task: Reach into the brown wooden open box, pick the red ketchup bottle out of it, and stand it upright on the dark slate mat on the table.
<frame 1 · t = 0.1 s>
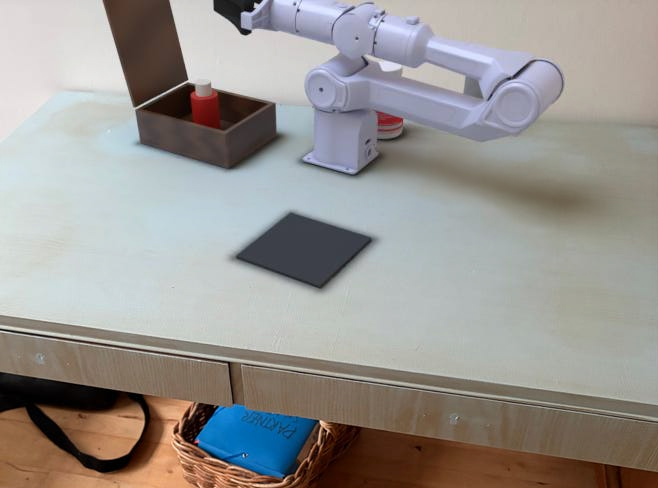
brown box lid: (138, 33, 121), point 15 cm above the table, hinge at 100.0°
ketchup: (208, 135, 125), point 1 cm above the table, touching brown wooden open box
pill bottle: (383, 133, 125), on the table
brown wooden open box: (208, 139, 126), on the table
grey tube: (472, 128, 125), on the table
mat: (304, 249, 99), on the table
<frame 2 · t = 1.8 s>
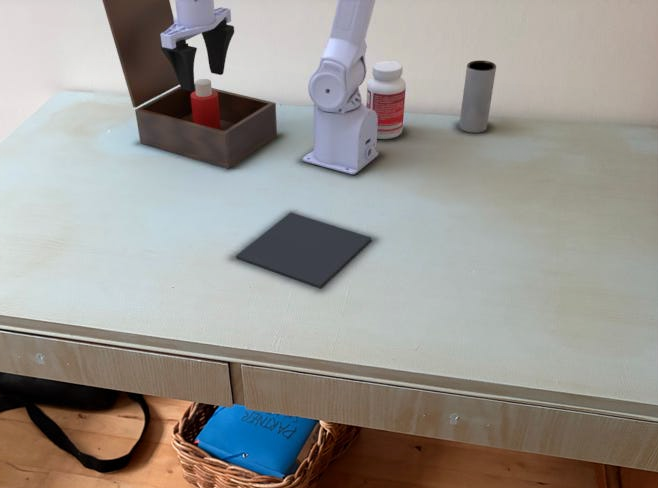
hand: (202, 81, 119), 10 cm above the table, tool pointing down, fingers open, 7 cm apart
nothing on the table moved.
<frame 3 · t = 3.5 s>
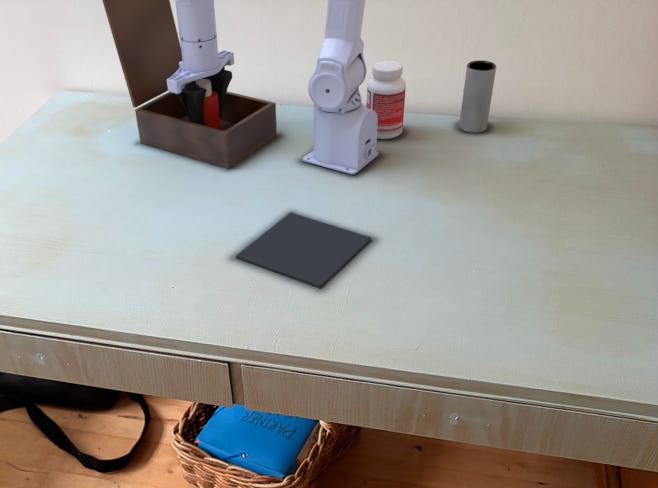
hand: (206, 121, 124), 3 cm above the table, tool pointing down, fingers closed on ketchup, 4 cm apart
ketchup: (208, 135, 125), point 1 cm above the table, touching gripper, brown wooden open box
everything else where it was.
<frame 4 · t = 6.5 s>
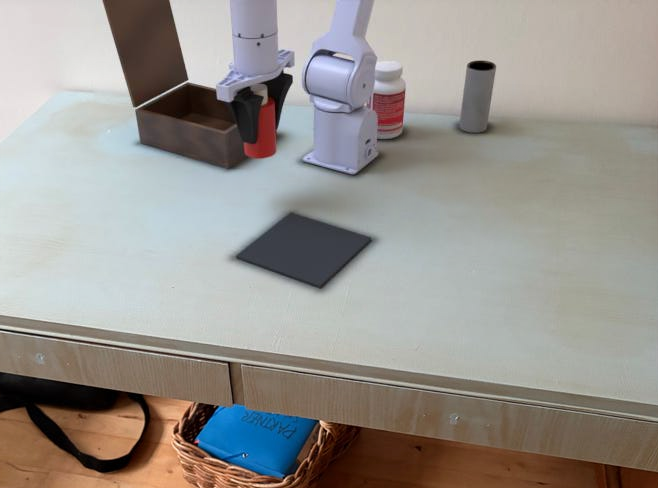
hand: (260, 135, 102), 10 cm above the table, tool pointing down, fingers closed on ketchup, 4 cm apart
ketchup: (260, 151, 104), point 8 cm above the table, touching gripper
everything else where it was.
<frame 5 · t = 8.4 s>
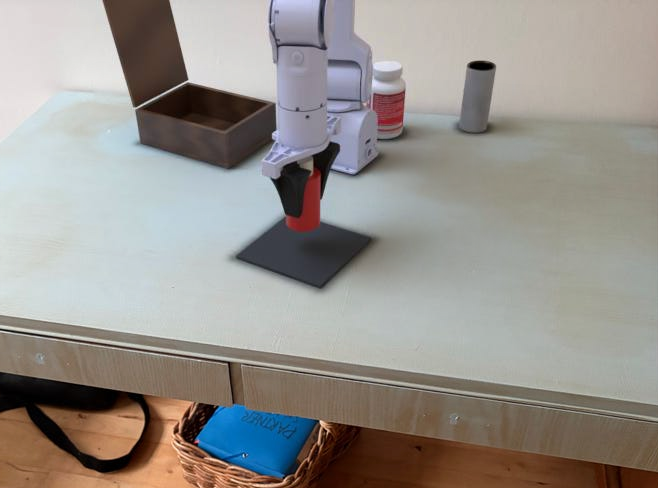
hand: (303, 206, 95), 6 cm above the table, tool pointing down, fingers closed on ketchup, 4 cm apart
ketchup: (303, 222, 97), point 4 cm above the table, touching gripper
everything else where it was.
when the fingers open (3 cm above the table, at t = 9.8 s): ketchup stays where it is, resting on mat.
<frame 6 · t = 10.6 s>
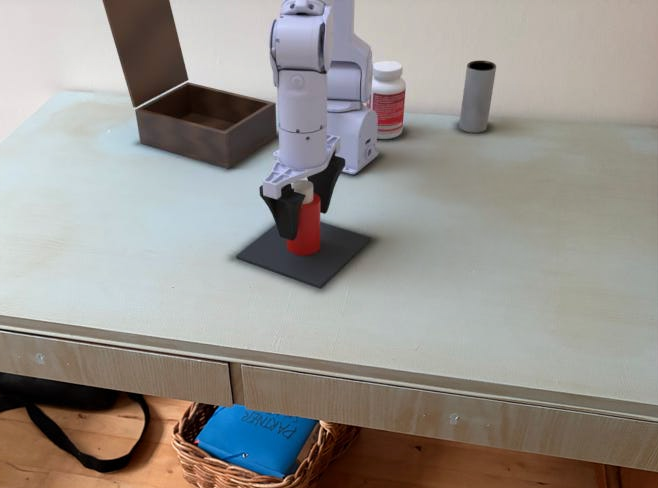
hand: (304, 223, 97), 4 cm above the table, tool pointing down, fingers open, 7 cm apart
ketchup: (303, 246, 99), resting on mat
everything else where it was.
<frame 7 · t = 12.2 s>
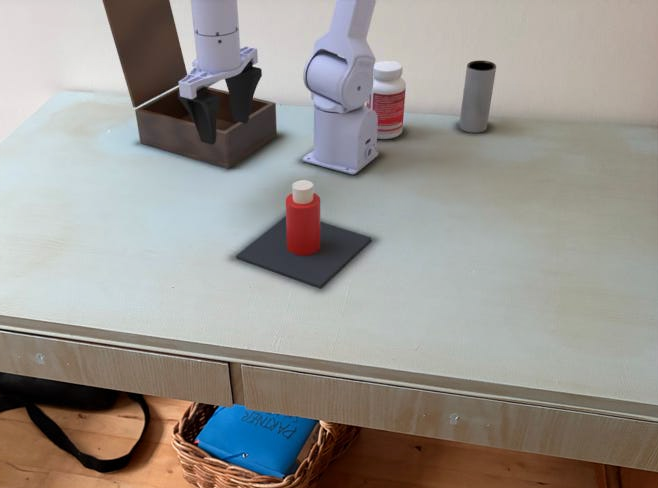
hand: (225, 131, 103), 10 cm above the table, tool pointing down, fingers open, 7 cm apart
nothing on the table moved.
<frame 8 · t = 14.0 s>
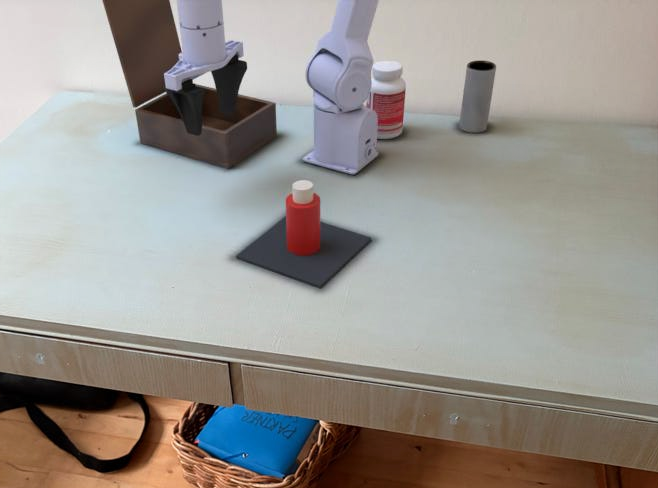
hand: (211, 123, 106), 10 cm above the table, tool pointing down, fingers open, 7 cm apart
nothing on the table moved.
at the end: ketchup inside the target area on the mat (0.1 cm from its centre), point 0.4 cm above the mat's base; ketchup tilted 0°; the gripper is holding nothing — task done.
